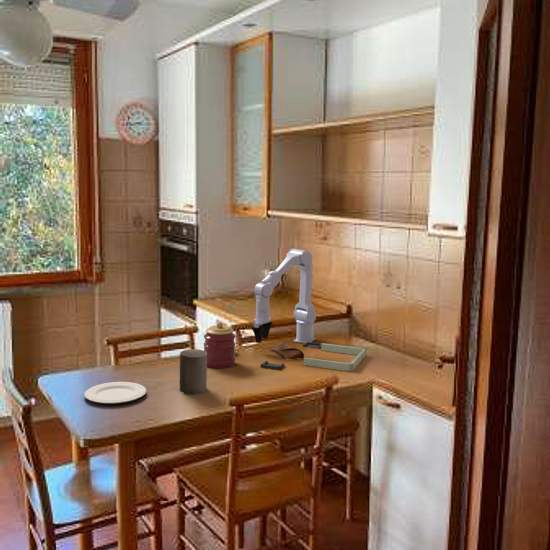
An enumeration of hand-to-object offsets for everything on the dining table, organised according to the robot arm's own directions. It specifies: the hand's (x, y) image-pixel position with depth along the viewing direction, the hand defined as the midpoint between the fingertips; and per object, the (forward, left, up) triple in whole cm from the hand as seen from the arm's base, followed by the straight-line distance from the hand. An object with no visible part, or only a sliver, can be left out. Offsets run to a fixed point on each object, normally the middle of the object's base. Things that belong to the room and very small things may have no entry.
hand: (261, 340), depth 269 cm
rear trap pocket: (-16, +19, -5) cm, 25 cm away
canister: (+26, -8, -5) cm, 28 cm away
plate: (+74, -24, -5) cm, 78 cm away
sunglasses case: (0, +12, -5) cm, 13 cm away
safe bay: (0, +34, -5) cm, 34 cm away
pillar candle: (+57, -3, -5) cm, 57 cm away
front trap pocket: (+20, +13, -5) cm, 24 cm away
